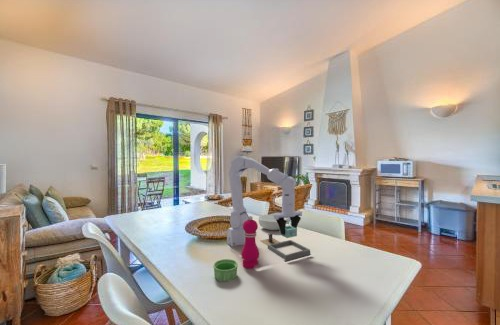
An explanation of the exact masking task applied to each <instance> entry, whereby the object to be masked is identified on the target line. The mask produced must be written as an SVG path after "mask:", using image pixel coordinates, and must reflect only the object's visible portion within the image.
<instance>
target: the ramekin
mask: <svg viewBox="0 0 500 325" xmlns="http://www.w3.org/2000/svg"><path fill="white" fill-rule="evenodd" d="M238 267H239V264H238V262H237V261H236V260H234V259H231V258H225V259H220V260H217V261H215V262H214V263H213V266H212V268H213V272H214V273H213V274H214V278H215V279H216V280H217V281H219V282H230V281H233V280H235V279H236V278H237V272H238Z"/></svg>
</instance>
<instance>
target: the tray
mask: <svg viewBox="0 0 500 325" xmlns="http://www.w3.org/2000/svg"><path fill="white" fill-rule="evenodd" d="M288 245H292V246H293V247H295V248H297V249H299V251H296V252H291V253H288V254H285V253H284V252H282V251H281V250H279V249H277V248H279V247H283V246H284V247H285V246H288ZM267 249H268V250H269V251H271V252H272V253H274V254H276V256H279V257H280V258H282V259H283V262H285V263H288V262H291V261H296V260H299V259H302V258H306V257H309V256H310V255H311V249H309V248H307V247H305V246H303V245H301V244H299V243H297V242H295V241H294V240H291V239H290V240H285V241H279V243H274V244H270V245H268V246H267Z"/></svg>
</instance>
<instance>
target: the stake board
mask: <svg viewBox="0 0 500 325" xmlns="http://www.w3.org/2000/svg"><path fill="white" fill-rule="evenodd" d="M273 235H274V233H268V234H267V236H268V238H266V239H260V240H259V242H261V243H263V244H264V245H266V246H267V247H268V245H270V244H274V243H279V242H280V241H279V240H277V239H275V237H274V238H273Z"/></svg>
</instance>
